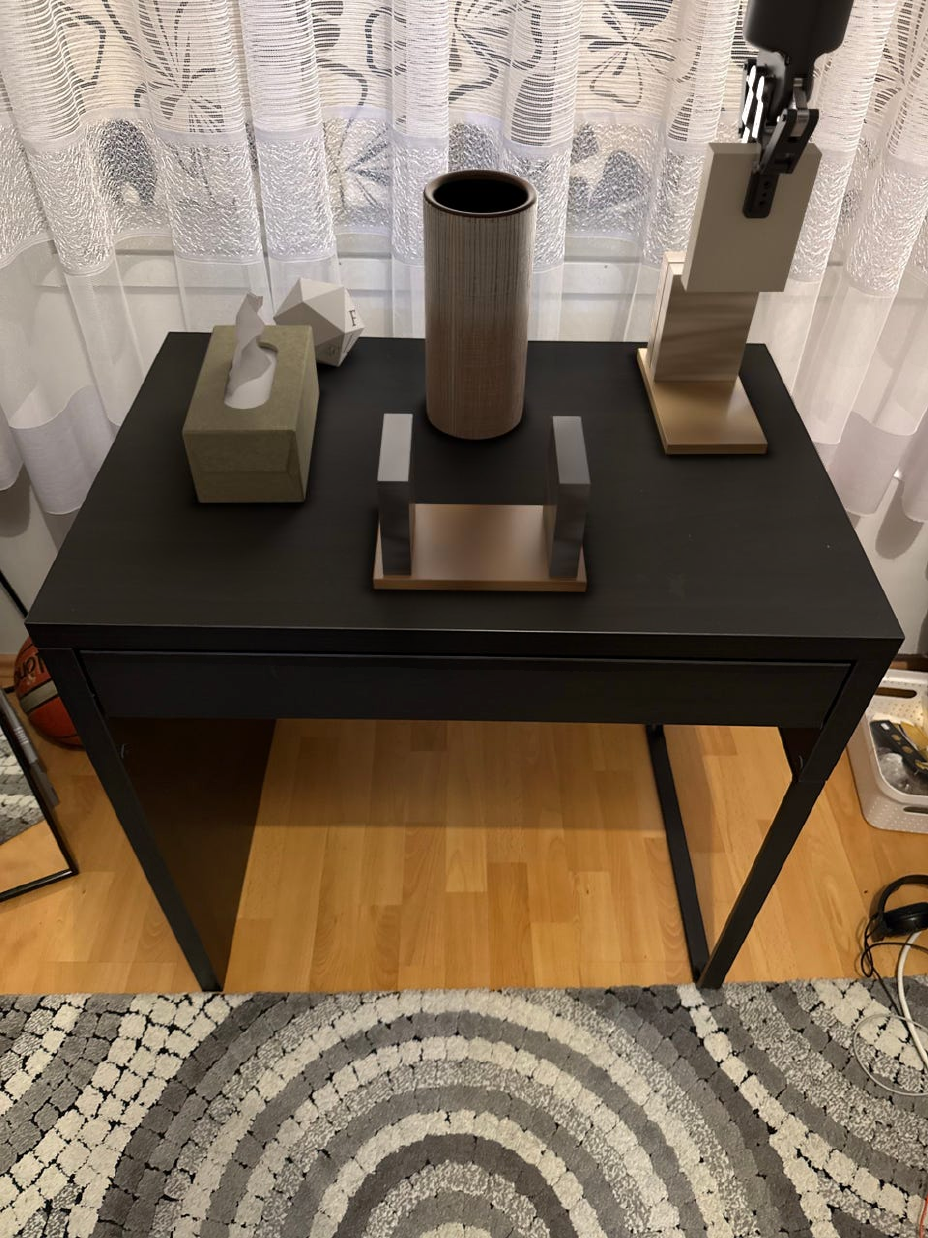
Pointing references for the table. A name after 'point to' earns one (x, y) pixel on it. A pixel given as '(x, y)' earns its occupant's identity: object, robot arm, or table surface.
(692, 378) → the cream book rack
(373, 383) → the table surface
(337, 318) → the die
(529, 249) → the planter
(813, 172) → the cream book
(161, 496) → the table surface
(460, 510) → the grey book rack
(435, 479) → the table surface
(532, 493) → the table surface
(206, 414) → the tissue box
